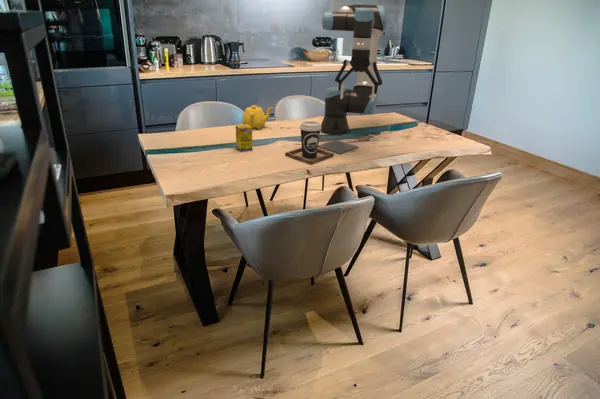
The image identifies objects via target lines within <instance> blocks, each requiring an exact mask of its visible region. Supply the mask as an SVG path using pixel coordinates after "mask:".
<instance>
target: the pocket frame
mask: <svg viewBox="0 0 600 399" xmlns="http://www.w3.org/2000/svg"><path fill="white" fill-rule="evenodd" d="M300 153H302V147H299V148H295V149H293V150H290V151H287V152H286V151H285V152H284V155H285V157H288V158H291V159H293V160H295V161H299V162H301V163H304V164H307V165H310V166H312V165H314V164H317V163H320V162H322V161H325V160H328V159H331V158H334V156H335V153H333V152H330V151H327V150H324V149H321V148H318V150H317V154H321V155H322V156H318V157H316V158H313V159H307V158H304V157H302V156H300V155H297V154H300Z"/></svg>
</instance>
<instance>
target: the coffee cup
mask: <svg viewBox="0 0 600 399" xmlns="http://www.w3.org/2000/svg"><path fill="white" fill-rule="evenodd" d="M299 129H300V140H301V148H302V152H301V157H303V158H306V159H309V160H312V159H315V158H318V157H317V156H318V153H317V150H318V149H319V148H318V145H319V142H320V134H321V131H320V130H321V129H322V128H321V124H320V122H318V121H315V120H314V121H313V120H311V121H310V120H306V121H302V122H301V124H300V125H299Z"/></svg>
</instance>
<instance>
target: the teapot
mask: <svg viewBox="0 0 600 399" xmlns="http://www.w3.org/2000/svg"><path fill="white" fill-rule="evenodd" d="M273 108H274V107H273V106H272V107H267V111H266V112H267V113H266V114H265V112H264V111H263V108H262V107H260V106H257V105H255V104H252V105H251V106H249V107H248V106H247V107H246V108H245V110H244V112H243V115H242V119H241V122H242V125H246V124H248V125H249V126H251V127H252V128H256V130H262V127H264V126H265V124H266V123H267V121H268V120H269V118H270V113H271V110H272V109H273Z"/></svg>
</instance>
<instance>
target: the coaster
mask: <svg viewBox="0 0 600 399" xmlns="http://www.w3.org/2000/svg"><path fill="white" fill-rule="evenodd" d="M359 147H360V146H359V145H355V144H351V143H348V142H344V141H340V140H338V139H334V140H330V141H328V142H324V143H322V144H318V149H321V150H325V151H328V152H331V153H334V154H337V155H343V154H345V153H349V152H351V151H354V150H356V149H359Z"/></svg>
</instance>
